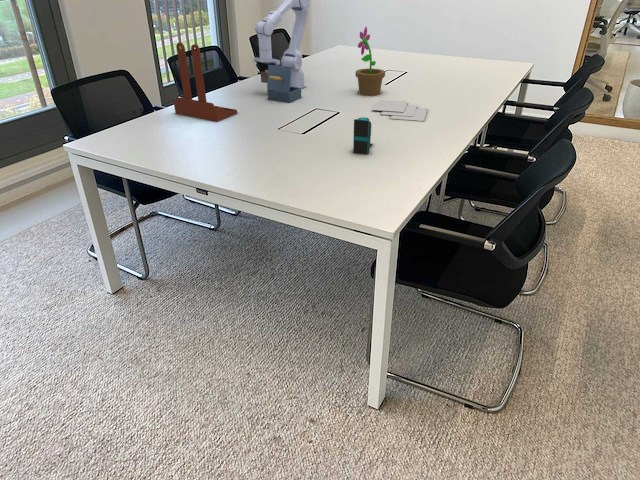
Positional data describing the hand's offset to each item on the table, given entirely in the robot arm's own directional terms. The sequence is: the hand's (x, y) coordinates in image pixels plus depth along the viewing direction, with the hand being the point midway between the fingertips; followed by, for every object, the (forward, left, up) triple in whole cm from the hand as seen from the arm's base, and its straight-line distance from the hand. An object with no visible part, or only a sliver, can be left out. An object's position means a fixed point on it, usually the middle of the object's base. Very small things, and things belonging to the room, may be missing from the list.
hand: (267, 78), depth 239 cm
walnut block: (0, 0, -1) cm, 1 cm away
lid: (+1, +12, +3) cm, 13 cm away
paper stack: (-28, +61, -8) cm, 68 cm away
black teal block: (+16, +84, -8) cm, 86 cm away
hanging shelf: (+38, +7, -8) cm, 40 cm away
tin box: (-2, +11, -8) cm, 14 cm away
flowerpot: (-39, +31, -8) cm, 50 cm away
